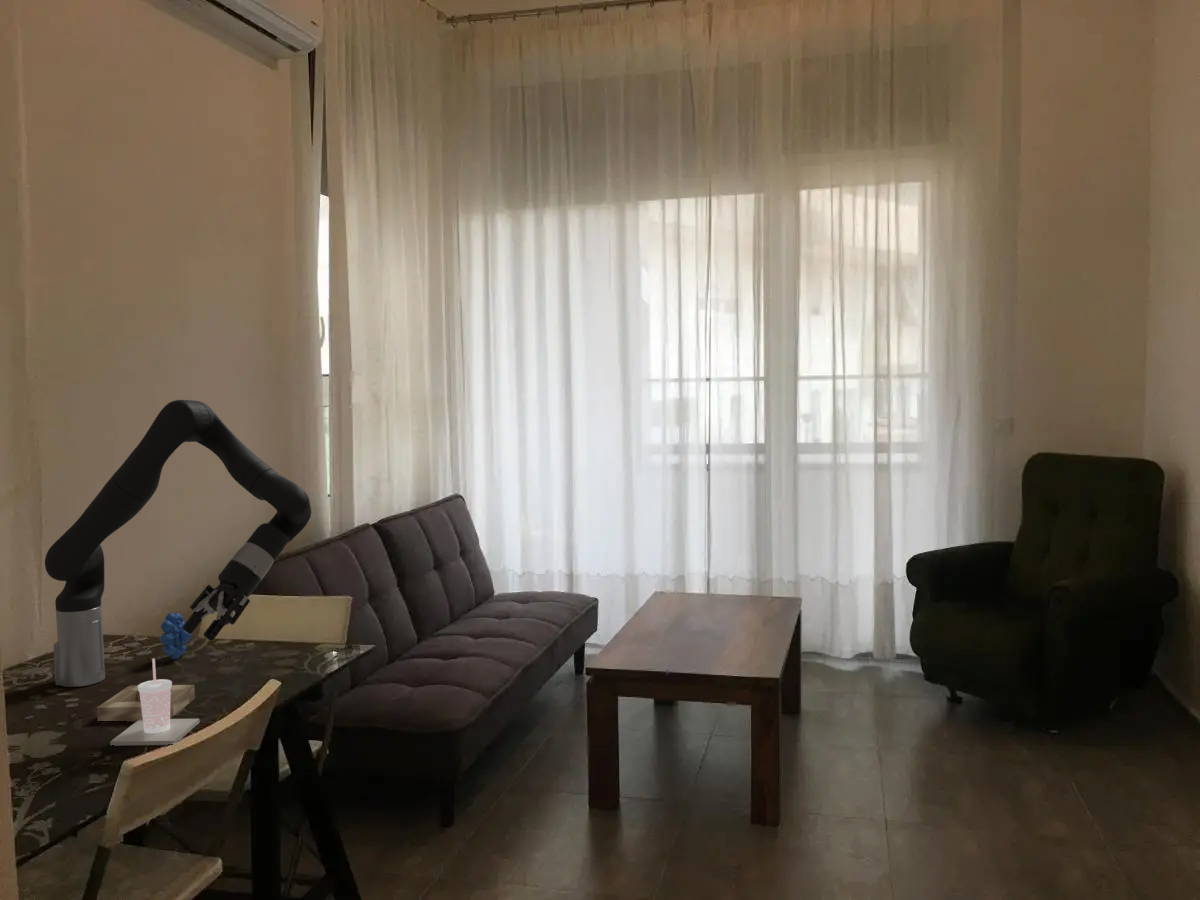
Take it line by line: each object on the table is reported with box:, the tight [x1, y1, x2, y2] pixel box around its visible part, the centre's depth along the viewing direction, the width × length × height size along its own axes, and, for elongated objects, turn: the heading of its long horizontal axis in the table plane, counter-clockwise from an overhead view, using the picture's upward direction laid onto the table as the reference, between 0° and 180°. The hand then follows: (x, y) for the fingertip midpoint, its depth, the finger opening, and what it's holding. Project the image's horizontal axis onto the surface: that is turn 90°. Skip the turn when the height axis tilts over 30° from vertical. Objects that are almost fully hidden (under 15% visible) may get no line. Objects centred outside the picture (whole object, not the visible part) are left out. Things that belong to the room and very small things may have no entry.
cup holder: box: [96, 684, 196, 723], centre depth 207 cm, size 14×14×3 cm
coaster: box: [109, 718, 201, 747], centre depth 193 cm, size 12×12×1 cm
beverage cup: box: [137, 657, 173, 733], centre depth 193 cm, size 6×6×14 cm
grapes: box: [159, 612, 193, 660], centre depth 243 cm, size 12×7×12 cm, turn 179°
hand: (196, 634), depth 198 cm, fingers open, 8 cm apart
